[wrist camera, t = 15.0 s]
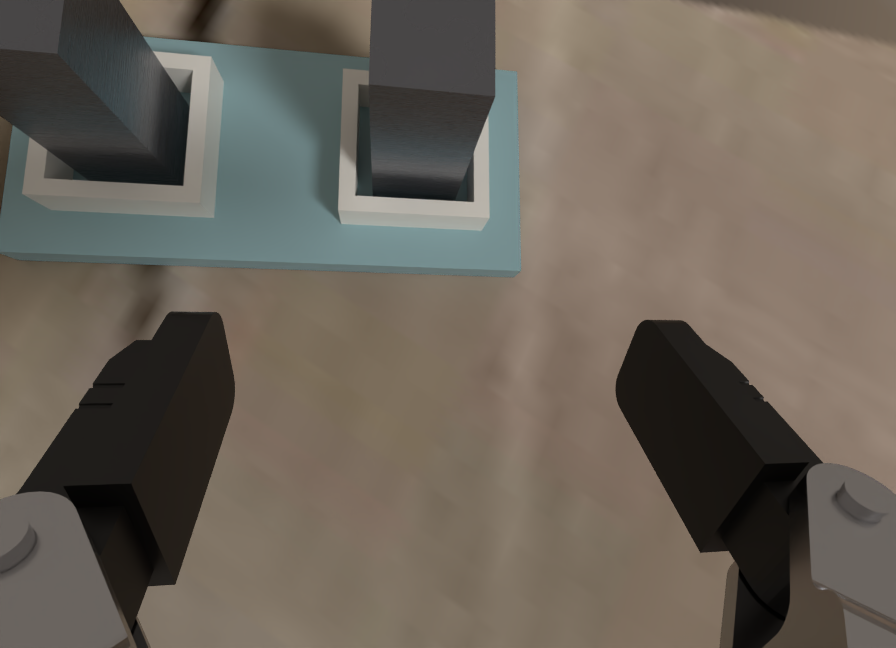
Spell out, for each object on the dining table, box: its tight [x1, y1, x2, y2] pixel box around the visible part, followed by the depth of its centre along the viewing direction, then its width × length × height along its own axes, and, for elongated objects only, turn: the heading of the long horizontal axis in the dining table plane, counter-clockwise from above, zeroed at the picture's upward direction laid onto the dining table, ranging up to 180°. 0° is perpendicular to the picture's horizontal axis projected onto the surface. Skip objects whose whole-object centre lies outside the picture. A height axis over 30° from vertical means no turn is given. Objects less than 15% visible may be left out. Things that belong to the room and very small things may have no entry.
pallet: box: [0, 37, 521, 277], centre depth 26 cm, size 26×12×4 cm, turn 90°
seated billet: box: [0, 0, 190, 186], centre depth 20 cm, size 4×5×10 cm
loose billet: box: [369, 0, 495, 201], centre depth 22 cm, size 4×5×10 cm
